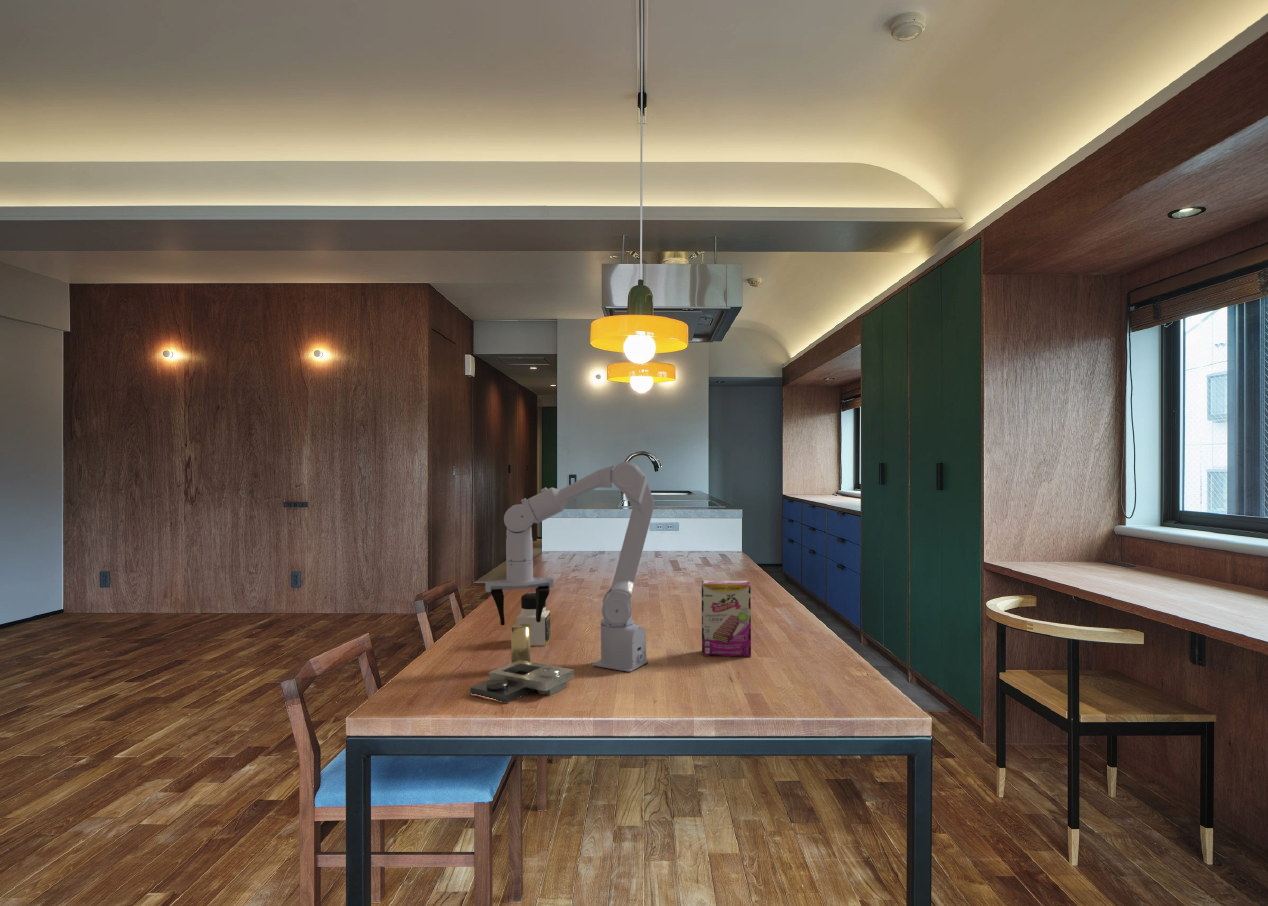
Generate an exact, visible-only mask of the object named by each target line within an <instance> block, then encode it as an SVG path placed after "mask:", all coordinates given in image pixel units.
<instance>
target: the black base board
mask: <svg viewBox="0 0 1268 906" xmlns="http://www.w3.org/2000/svg"><path fill="white" fill-rule="evenodd" d="M527 673H529V672H524V671H518V672H516V673H515V674H520V675H525V674H527ZM534 691H536V690H535V689H532V688H527V687H522V686H517V685H512V684H508V681H507V680H489V679H488V680H485V681H483V682H480V683H479V684H478V683H477V684H476V685H473V686H471V687H470V694H471V693H472V694H477V695H481V696H485V697H489V698H493V699H496V700H498V701H502V702H506V703H505V704H509V703H511V702H513V701H514V700H513V699H515V700H517V699H519V698H518V697H520V696H522V697H524V696H525V694H526V695H528V694H530V693H533V692H534ZM527 693H528V694H527ZM523 695H524V696H523ZM516 698H517V699H516ZM520 698H521V697H520ZM512 700H513V701H512ZM498 701H497V702H498ZM510 701H511V702H510ZM502 702H501V703H502ZM508 702H509V703H508Z"/></svg>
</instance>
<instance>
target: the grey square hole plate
mask: <svg viewBox="0 0 1268 906" xmlns="http://www.w3.org/2000/svg"><path fill="white" fill-rule="evenodd" d="M518 671H524V672H529V673H527V674H525V675H520V674H515V673H516V672H518ZM573 678H575V669H571V668H567V667H561V666H556V665H549V664H544V663H539V662H538V663H537V662H532V661H530V662H527V661H521V660H518V661H516V662H513V663H512V662H510V663H509V664H506V665H503V666H501V667H498V668H496V669H493V670H491V671H488V680H507V681H508V684H512V685H517V686H522V687H527V688H532V689H536V691H537V694H540V693H541V695H545V694H546V695H545V696H552V695H554V694H556V693H558V692H560V691H562V690H565V689H566V688H567V681H569V680H572V679H573Z"/></svg>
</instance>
